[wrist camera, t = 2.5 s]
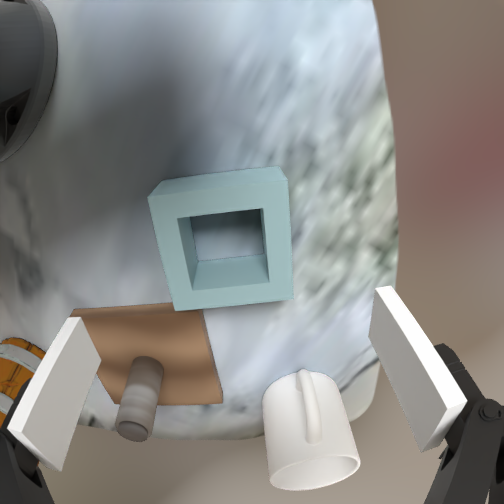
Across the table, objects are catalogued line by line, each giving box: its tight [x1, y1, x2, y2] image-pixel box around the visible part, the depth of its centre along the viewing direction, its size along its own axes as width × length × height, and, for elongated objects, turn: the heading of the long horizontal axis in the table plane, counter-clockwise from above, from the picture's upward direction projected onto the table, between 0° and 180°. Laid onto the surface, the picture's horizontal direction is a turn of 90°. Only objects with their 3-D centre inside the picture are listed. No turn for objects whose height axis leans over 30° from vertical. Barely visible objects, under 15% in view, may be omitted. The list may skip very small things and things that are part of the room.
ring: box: [147, 166, 294, 311], centre depth 21 cm, size 8×8×4 cm
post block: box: [70, 302, 223, 442], centre depth 24 cm, size 12×12×9 cm
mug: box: [0, 338, 46, 466], centre depth 23 cm, size 11×16×15 cm, turn 124°
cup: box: [262, 369, 360, 490], centre depth 27 cm, size 8×12×10 cm
